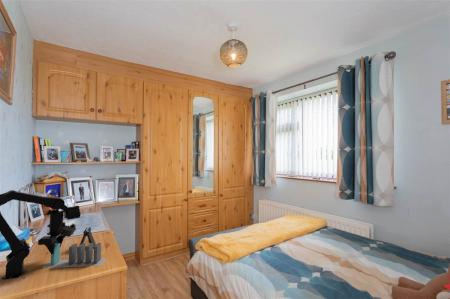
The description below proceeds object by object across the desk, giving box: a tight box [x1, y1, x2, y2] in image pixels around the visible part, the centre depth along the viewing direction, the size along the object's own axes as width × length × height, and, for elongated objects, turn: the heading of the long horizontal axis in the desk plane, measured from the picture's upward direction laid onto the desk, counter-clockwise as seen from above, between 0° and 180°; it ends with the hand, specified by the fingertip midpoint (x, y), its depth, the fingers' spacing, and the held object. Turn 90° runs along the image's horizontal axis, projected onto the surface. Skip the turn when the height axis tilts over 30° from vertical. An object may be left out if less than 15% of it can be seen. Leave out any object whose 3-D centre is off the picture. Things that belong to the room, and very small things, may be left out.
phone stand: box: [79, 226, 97, 250], centre depth 139 cm, size 9×6×12 cm, turn 110°
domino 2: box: [68, 243, 78, 265], centre depth 120 cm, size 5×2×9 cm, turn 7°
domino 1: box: [50, 243, 61, 265], centre depth 119 cm, size 5×2×9 cm, turn 7°
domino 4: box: [85, 243, 94, 264], centre depth 121 cm, size 5×2×9 cm, turn 7°
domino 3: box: [77, 242, 86, 265], centre depth 121 cm, size 5×2×9 cm, turn 7°
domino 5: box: [93, 242, 102, 264], centre depth 122 cm, size 5×2×9 cm, turn 7°
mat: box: [41, 257, 108, 269], centre depth 120 cm, size 8×28×1 cm, turn 97°
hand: (55, 251), depth 119 cm, fingers closed on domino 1, 5 cm apart
